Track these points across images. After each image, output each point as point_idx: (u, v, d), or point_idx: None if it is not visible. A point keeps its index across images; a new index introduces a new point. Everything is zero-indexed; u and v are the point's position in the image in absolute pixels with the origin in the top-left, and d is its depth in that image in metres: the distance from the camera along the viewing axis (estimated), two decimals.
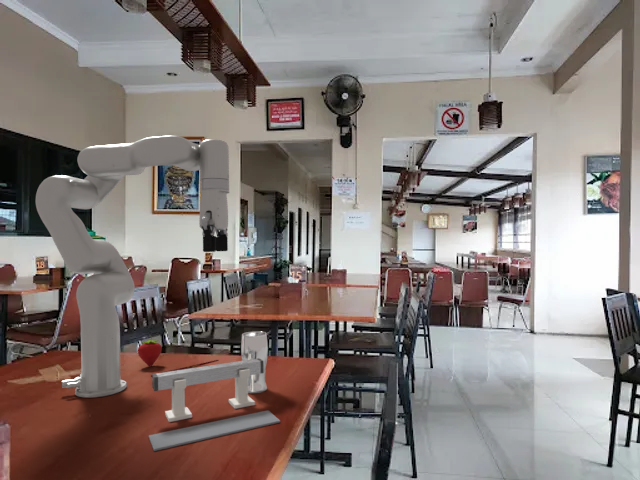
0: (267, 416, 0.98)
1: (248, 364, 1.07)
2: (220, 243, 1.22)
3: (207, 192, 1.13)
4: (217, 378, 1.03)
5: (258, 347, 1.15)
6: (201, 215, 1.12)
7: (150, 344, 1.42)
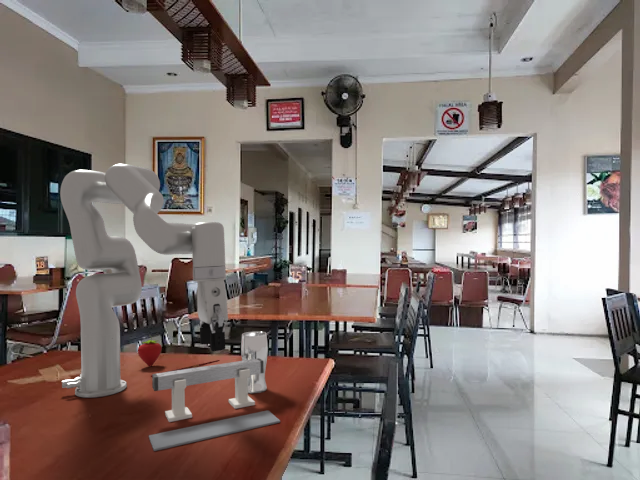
0: (267, 416, 0.98)
1: (248, 364, 1.07)
2: None
3: None
4: (217, 378, 1.03)
5: (258, 347, 1.15)
6: None
7: (150, 344, 1.42)
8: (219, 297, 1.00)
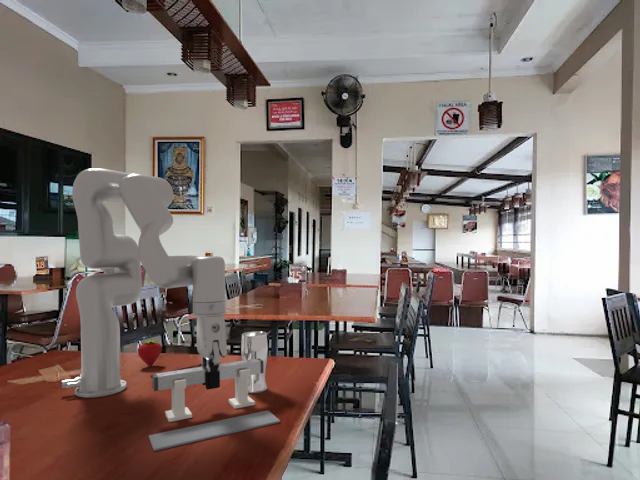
0: (267, 416, 0.98)
1: (248, 364, 1.07)
2: None
3: None
4: None
5: (258, 347, 1.15)
6: None
7: (150, 344, 1.42)
8: (218, 333, 1.00)
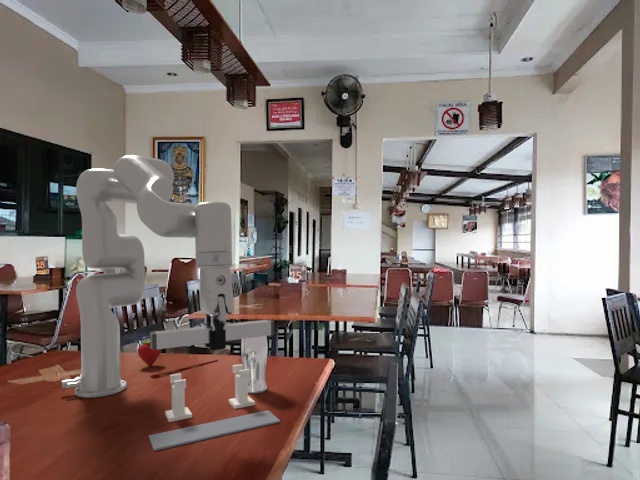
0: (267, 416, 0.98)
1: (258, 324, 0.96)
2: None
3: None
4: None
5: (258, 347, 1.15)
6: None
7: None
8: (224, 286, 0.89)
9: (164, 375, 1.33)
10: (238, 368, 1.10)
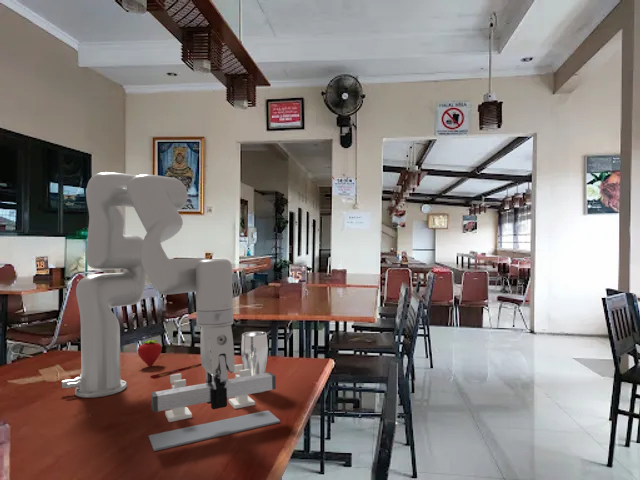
0: (267, 416, 0.98)
1: (259, 379, 0.96)
2: None
3: None
4: None
5: (258, 347, 1.15)
6: None
7: (150, 344, 1.42)
8: (225, 346, 0.89)
9: (164, 375, 1.33)
10: (238, 368, 1.10)
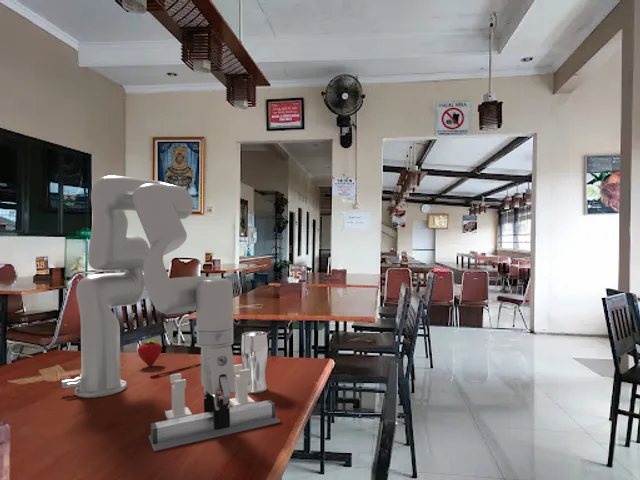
0: None
1: (259, 408, 0.96)
2: None
3: None
4: None
5: (258, 347, 1.15)
6: None
7: (150, 344, 1.42)
8: (226, 366, 0.89)
9: (164, 375, 1.32)
10: (238, 368, 1.10)
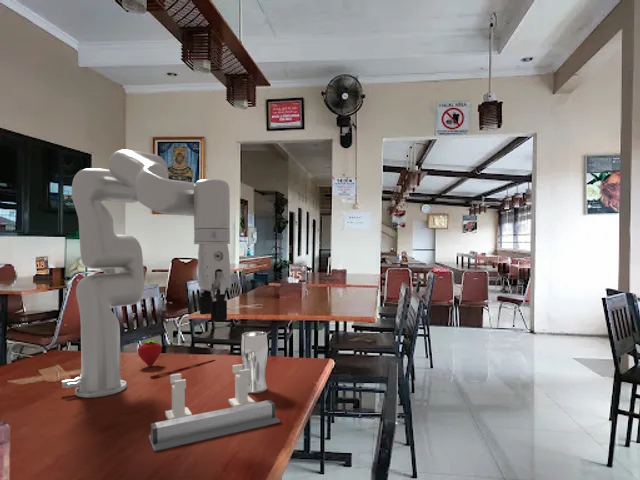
0: None
1: (259, 408, 0.96)
2: None
3: None
4: (224, 426, 0.92)
5: (258, 347, 1.15)
6: None
7: (150, 344, 1.42)
8: (222, 262, 0.91)
9: (164, 375, 1.32)
10: (238, 368, 1.10)
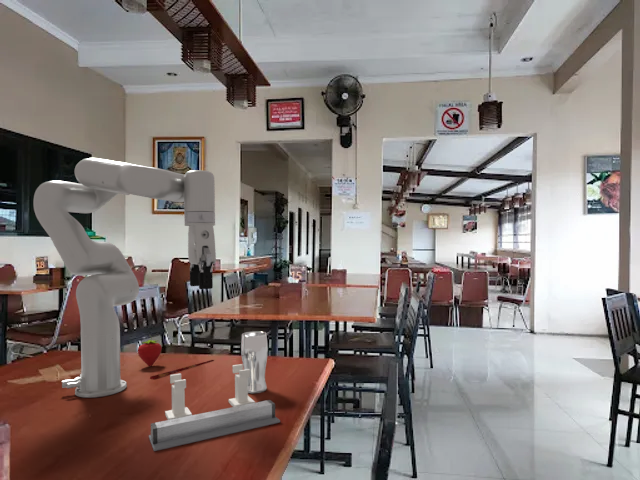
0: None
1: (259, 408, 0.96)
2: None
3: None
4: (224, 426, 0.92)
5: (258, 347, 1.15)
6: None
7: (150, 344, 1.42)
8: (208, 240, 1.08)
9: None
10: (238, 368, 1.10)
